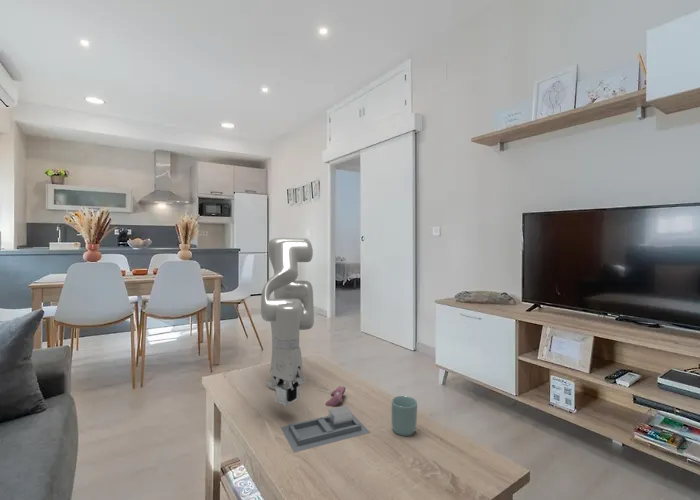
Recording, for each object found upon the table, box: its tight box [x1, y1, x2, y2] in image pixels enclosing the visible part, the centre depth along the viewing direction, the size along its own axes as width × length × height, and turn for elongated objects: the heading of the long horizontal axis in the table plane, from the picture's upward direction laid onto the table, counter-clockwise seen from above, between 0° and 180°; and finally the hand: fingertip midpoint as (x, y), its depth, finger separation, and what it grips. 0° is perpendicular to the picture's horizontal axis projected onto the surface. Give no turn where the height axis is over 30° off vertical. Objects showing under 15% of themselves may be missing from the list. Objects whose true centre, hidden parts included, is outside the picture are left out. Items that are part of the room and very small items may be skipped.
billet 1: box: [275, 381, 300, 407], centre depth 114 cm, size 4×6×5 cm
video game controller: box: [325, 385, 346, 407], centre depth 127 cm, size 10×5×7 cm, turn 169°
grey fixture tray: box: [280, 413, 371, 453], centre depth 107 cm, size 14×24×2 cm, turn 116°
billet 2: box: [328, 405, 353, 430], centre depth 109 cm, size 4×6×5 cm
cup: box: [390, 395, 418, 437], centre depth 108 cm, size 8×8×10 cm
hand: (286, 396), depth 114 cm, fingers closed on billet 1, 4 cm apart
